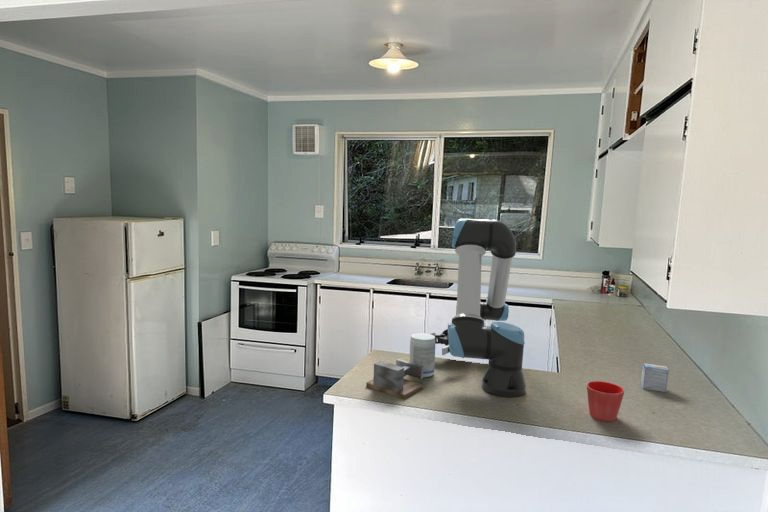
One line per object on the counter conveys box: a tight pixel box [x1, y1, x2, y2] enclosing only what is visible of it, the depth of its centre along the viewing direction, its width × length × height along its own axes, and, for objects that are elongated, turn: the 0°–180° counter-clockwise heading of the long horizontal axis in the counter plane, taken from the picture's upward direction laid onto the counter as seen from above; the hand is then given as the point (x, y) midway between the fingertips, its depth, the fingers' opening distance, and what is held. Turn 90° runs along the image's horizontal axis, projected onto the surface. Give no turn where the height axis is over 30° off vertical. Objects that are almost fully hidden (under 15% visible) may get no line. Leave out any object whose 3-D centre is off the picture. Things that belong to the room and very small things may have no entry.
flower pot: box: [586, 380, 625, 422], centre depth 152 cm, size 11×11×10 cm
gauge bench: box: [365, 360, 424, 400], centre depth 168 cm, size 16×12×9 cm
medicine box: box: [640, 363, 670, 393], centre depth 177 cm, size 8×4×9 cm, turn 71°
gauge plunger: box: [388, 358, 424, 380], centre depth 174 cm, size 12×6×4 cm, turn 54°
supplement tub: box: [409, 332, 436, 378], centre depth 182 cm, size 10×10×15 cm
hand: (427, 347), depth 186 cm, fingers open, 13 cm apart
